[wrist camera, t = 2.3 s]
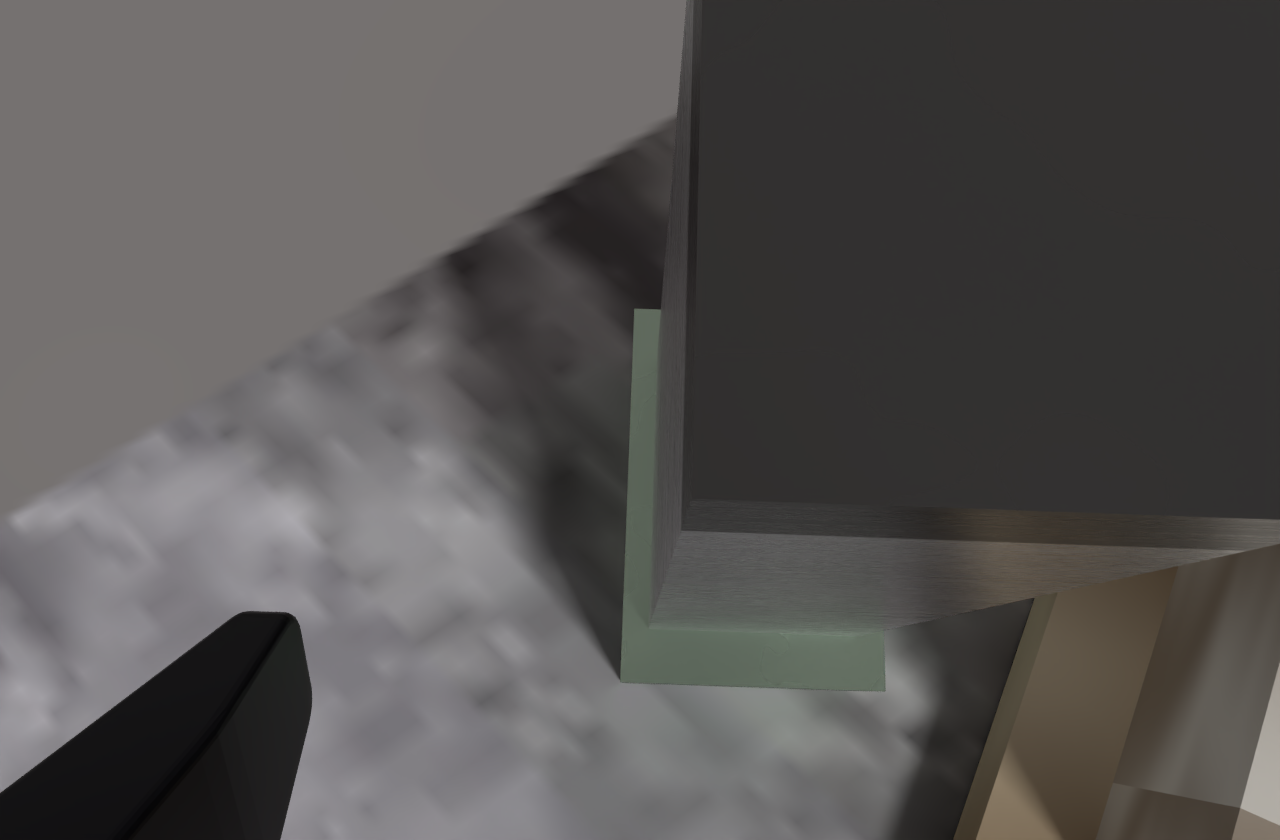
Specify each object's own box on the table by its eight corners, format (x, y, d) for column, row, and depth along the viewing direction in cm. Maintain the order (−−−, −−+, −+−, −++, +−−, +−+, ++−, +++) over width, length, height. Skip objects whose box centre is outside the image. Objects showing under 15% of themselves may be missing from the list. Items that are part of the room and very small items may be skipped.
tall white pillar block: (849, 690, 18) (1490, 703, 4) (621, 682, 18) (597, 672, 4) (844, 364, 19) (1306, -332, 6) (633, 356, 19) (643, -355, 6)
